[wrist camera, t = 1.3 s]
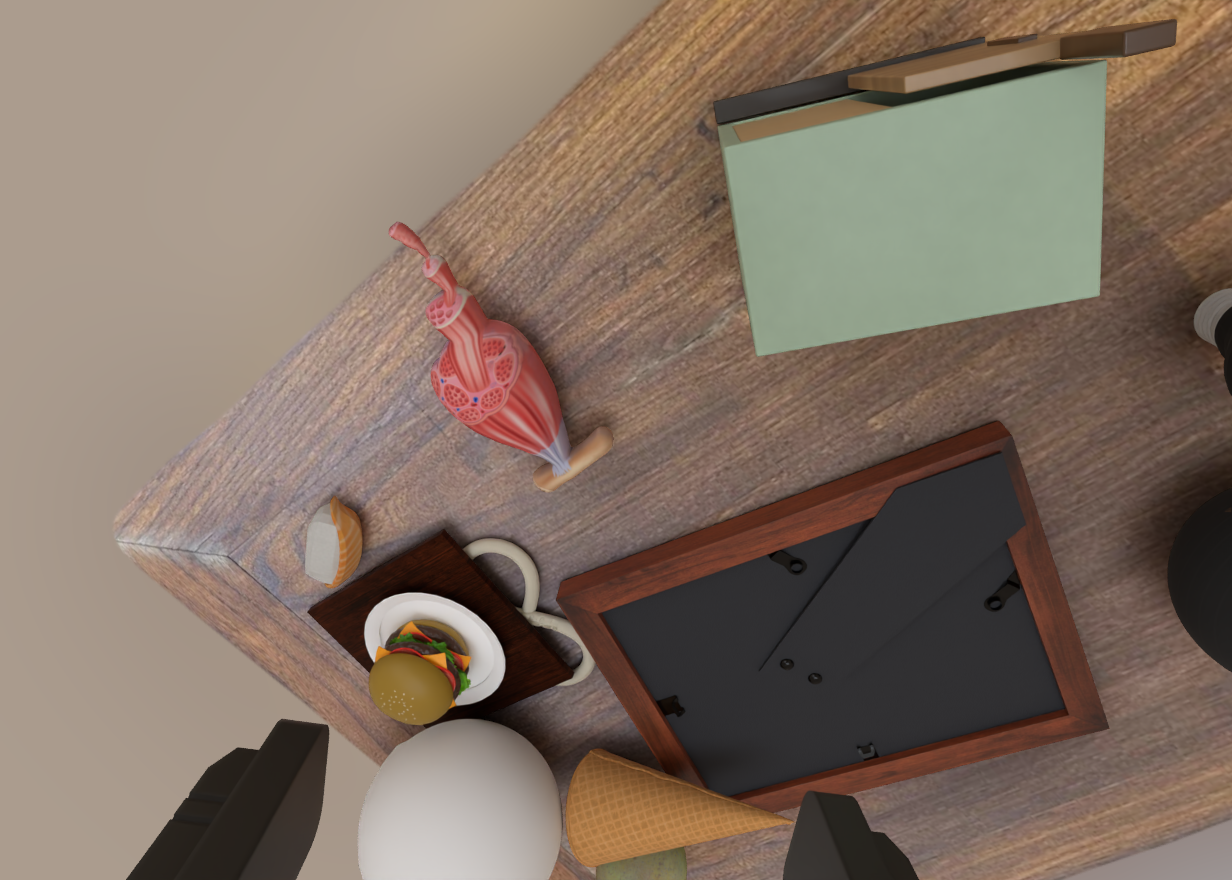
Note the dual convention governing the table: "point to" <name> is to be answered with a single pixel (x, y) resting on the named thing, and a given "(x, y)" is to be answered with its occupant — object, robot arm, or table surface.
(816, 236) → the box
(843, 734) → the picture frame
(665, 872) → the apple
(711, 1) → the table surface
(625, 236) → the table surface
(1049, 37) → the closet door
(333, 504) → the sushi
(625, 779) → the ice cream cone
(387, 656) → the hamburger
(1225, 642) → the speaker
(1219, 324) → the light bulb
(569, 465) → the anatomical model
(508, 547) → the decorative object
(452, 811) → the decorative ball
